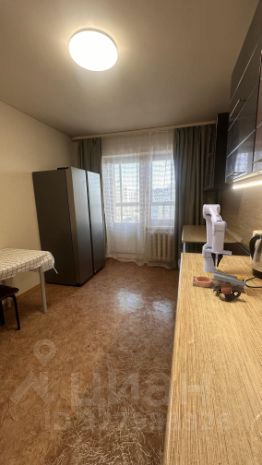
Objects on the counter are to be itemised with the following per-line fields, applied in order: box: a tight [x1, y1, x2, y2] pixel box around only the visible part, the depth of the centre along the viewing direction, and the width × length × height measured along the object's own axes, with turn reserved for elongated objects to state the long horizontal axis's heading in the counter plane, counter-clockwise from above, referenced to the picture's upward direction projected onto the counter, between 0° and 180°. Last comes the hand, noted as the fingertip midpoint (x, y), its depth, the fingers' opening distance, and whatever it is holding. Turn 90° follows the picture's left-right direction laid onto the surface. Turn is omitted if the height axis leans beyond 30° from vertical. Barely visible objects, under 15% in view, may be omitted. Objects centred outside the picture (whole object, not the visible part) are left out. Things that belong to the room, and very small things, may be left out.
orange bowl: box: [195, 275, 213, 288], centre depth 110 cm, size 9×9×3 cm
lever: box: [212, 268, 247, 289], centre depth 109 cm, size 13×15×4 cm
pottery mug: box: [212, 285, 242, 303], centre depth 96 cm, size 12×10×8 cm
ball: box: [237, 274, 245, 281], centre depth 104 cm, size 3×3×3 cm
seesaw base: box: [192, 275, 247, 294], centre depth 110 cm, size 14×26×4 cm, turn 70°
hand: (216, 266), depth 113 cm, fingers closed
